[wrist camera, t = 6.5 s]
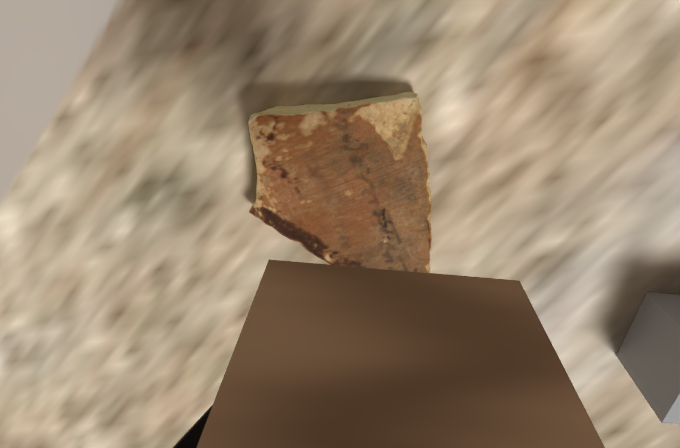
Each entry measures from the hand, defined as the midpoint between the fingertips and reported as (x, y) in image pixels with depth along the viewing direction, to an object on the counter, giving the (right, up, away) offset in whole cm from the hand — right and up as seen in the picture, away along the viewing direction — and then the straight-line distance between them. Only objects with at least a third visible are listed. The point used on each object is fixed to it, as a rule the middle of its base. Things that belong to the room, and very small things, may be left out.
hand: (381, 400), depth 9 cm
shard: (+1, +5, +10) cm, 12 cm away
